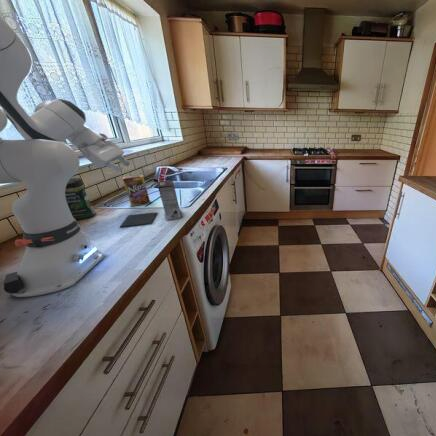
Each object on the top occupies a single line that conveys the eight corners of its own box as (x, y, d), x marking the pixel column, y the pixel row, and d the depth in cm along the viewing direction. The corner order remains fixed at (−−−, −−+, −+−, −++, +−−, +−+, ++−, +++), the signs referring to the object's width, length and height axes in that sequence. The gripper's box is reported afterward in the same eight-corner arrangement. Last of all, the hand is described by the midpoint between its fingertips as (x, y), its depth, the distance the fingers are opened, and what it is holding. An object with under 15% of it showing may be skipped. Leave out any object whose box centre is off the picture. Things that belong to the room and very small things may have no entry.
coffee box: (165, 213, 111) (156, 181, 104) (179, 210, 114) (172, 179, 107) (166, 220, 104) (157, 186, 97) (181, 217, 107) (174, 184, 100)
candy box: (131, 207, 119) (122, 178, 112) (131, 204, 122) (122, 176, 115) (150, 203, 123) (142, 176, 116) (150, 201, 126) (142, 174, 120)
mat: (151, 223, 101) (151, 222, 101) (120, 227, 98) (119, 226, 98) (157, 213, 111) (157, 212, 111) (129, 216, 108) (129, 215, 108)
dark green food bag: (66, 221, 103) (47, 182, 95) (74, 214, 110) (57, 177, 102) (92, 218, 106) (75, 179, 98) (98, 211, 113) (83, 175, 105)
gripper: (80, 140, 79) (120, 168, 86) (106, 133, 97) (137, 157, 104) (69, 153, 80) (109, 180, 87) (97, 144, 98) (128, 167, 104)
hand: (124, 167), depth 95 cm, fingers open, 8 cm apart
